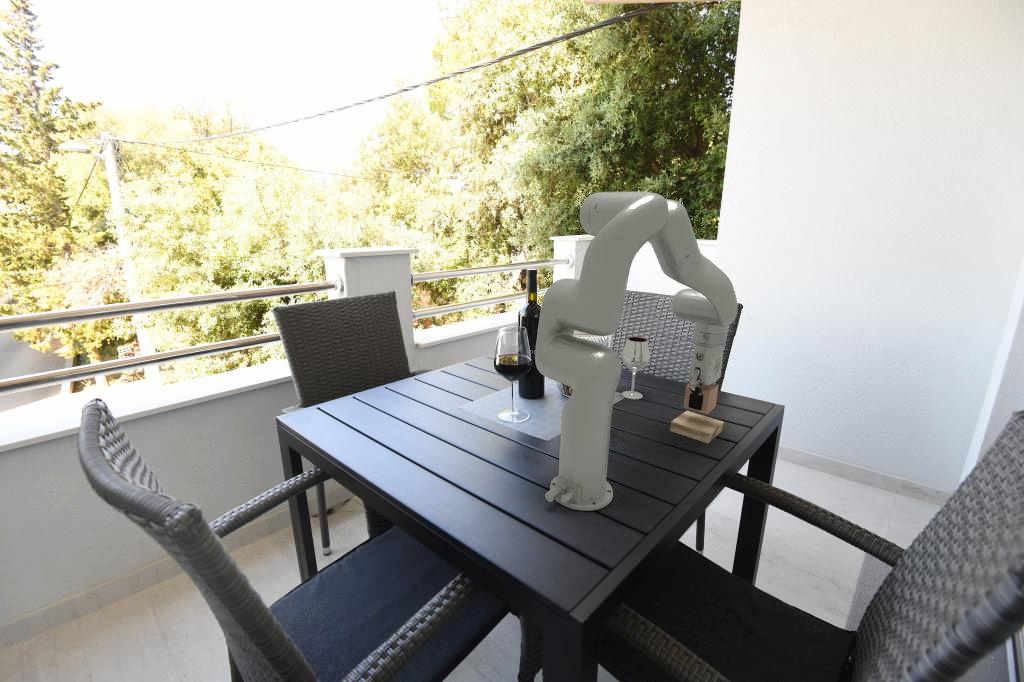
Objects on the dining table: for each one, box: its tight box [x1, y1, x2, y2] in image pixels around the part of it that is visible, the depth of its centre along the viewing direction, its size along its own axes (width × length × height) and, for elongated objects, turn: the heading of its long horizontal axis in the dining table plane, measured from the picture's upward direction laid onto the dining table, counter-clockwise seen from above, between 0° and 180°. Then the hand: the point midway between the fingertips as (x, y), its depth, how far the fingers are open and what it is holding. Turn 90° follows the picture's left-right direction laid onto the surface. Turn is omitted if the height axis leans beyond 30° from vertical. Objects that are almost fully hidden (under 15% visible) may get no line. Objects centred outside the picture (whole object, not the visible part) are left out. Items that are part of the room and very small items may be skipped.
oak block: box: [669, 410, 725, 444], centre depth 126 cm, size 10×10×3 cm
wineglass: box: [621, 336, 651, 400], centre depth 147 cm, size 8×8×18 cm
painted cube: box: [683, 380, 720, 415], centre depth 124 cm, size 6×6×6 cm
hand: (699, 404), depth 125 cm, fingers closed on painted cube, 6 cm apart
